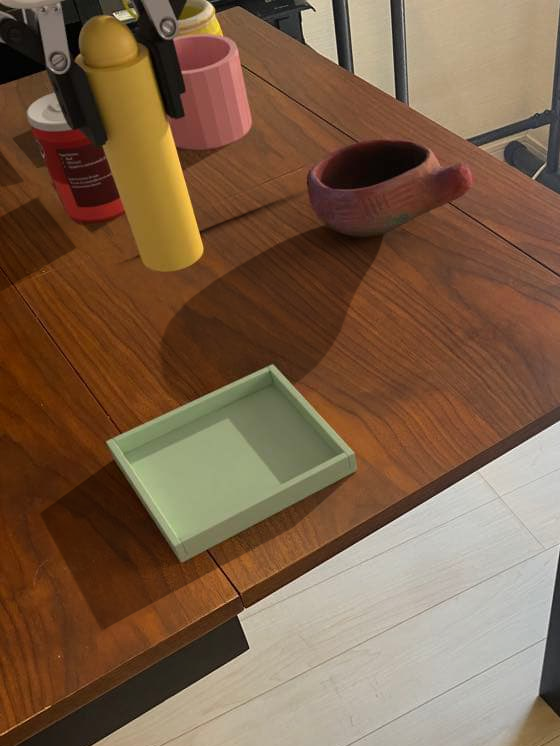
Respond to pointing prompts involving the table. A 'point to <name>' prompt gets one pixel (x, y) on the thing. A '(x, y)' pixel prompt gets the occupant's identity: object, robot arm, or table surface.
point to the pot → (210, 93)
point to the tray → (230, 460)
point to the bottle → (140, 144)
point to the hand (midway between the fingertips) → (131, 120)
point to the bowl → (381, 186)
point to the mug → (193, 18)
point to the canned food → (74, 165)
